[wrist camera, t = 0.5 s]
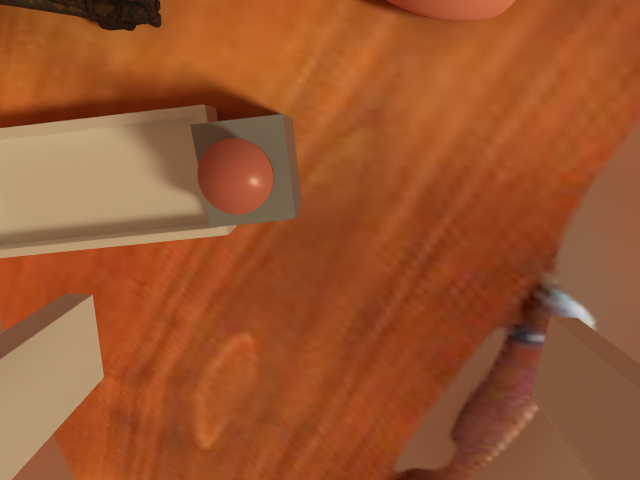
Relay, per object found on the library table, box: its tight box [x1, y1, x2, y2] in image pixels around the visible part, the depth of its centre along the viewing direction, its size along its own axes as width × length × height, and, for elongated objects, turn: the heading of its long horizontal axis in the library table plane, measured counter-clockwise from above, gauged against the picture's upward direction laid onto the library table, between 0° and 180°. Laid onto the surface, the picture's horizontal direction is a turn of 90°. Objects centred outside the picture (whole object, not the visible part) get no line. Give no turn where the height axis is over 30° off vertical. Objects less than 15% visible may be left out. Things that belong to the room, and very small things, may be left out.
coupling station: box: [0, 104, 302, 258], centre depth 31 cm, size 12×33×11 cm, turn 96°
